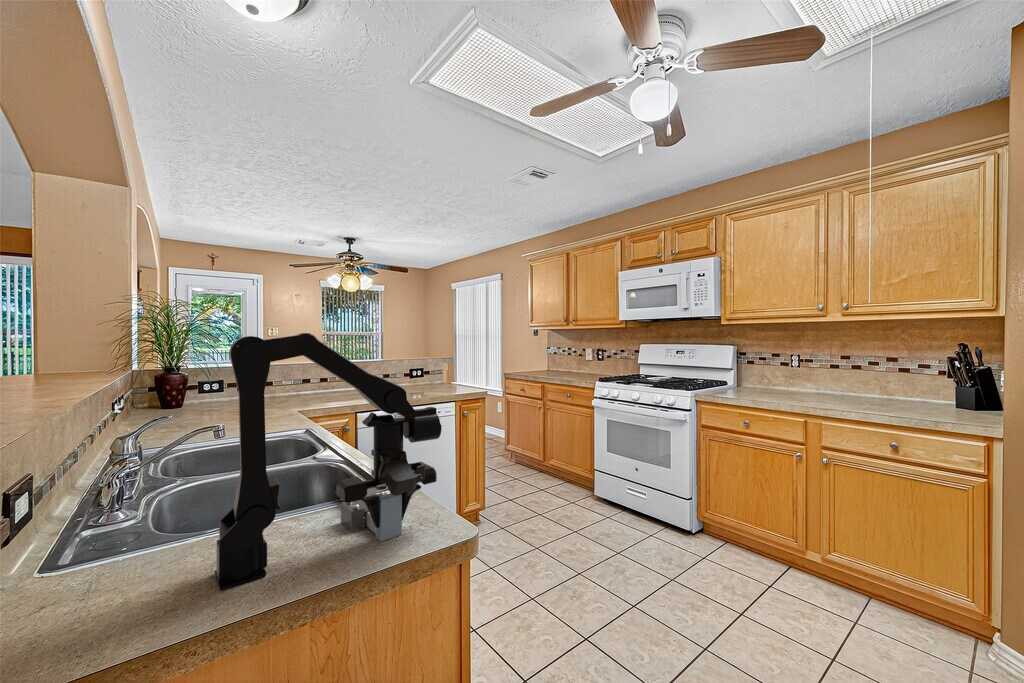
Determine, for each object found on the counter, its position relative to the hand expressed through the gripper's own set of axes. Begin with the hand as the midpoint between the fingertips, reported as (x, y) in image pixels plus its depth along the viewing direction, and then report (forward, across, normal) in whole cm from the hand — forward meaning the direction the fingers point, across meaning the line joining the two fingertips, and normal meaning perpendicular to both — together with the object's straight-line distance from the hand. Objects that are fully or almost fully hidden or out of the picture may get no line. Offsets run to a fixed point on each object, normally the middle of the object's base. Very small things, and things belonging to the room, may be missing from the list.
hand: (388, 523), depth 86 cm
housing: (+2, 0, +10) cm, 10 cm away
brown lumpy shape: (+3, 0, +23) cm, 23 cm away
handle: (+2, 0, +3) cm, 4 cm away
